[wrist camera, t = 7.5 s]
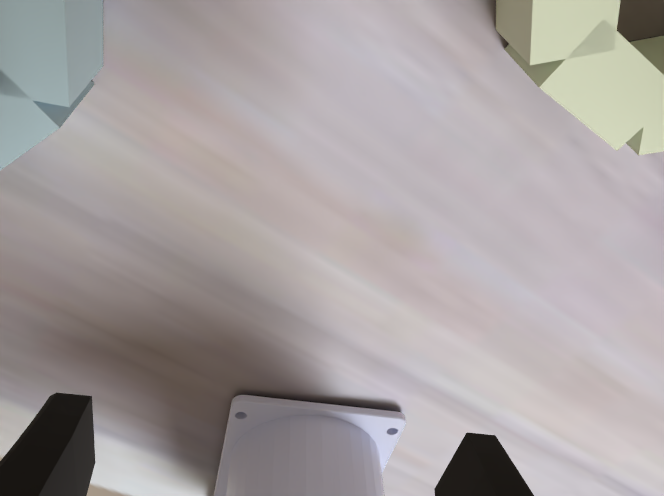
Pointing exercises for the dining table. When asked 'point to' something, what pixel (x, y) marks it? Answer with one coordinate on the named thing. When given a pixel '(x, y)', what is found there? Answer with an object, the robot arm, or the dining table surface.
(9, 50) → the pale teal ring
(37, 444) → the robot arm
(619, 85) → the sage bead
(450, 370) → the dining table surface
